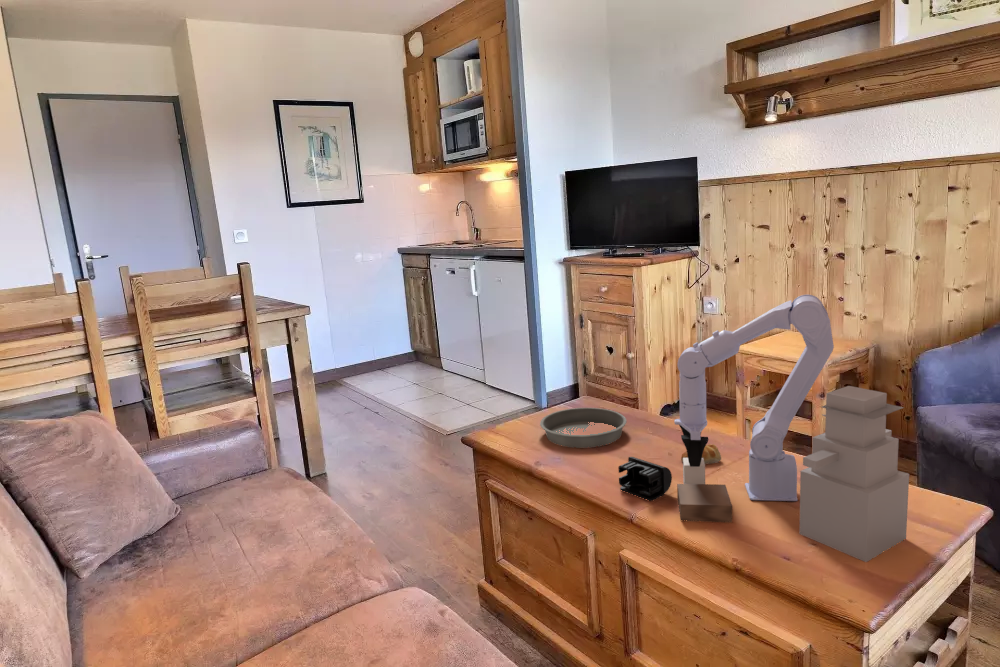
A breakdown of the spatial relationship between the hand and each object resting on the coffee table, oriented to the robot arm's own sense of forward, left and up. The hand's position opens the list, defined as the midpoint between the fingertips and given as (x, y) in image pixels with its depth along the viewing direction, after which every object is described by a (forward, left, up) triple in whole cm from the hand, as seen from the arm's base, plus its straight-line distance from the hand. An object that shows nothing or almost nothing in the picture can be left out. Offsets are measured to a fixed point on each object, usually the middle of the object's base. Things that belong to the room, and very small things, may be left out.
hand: (693, 459), depth 147 cm
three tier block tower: (-27, +21, -7) cm, 35 cm away
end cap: (+11, +3, -7) cm, 13 cm away
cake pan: (+28, -34, -7) cm, 45 cm away
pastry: (-3, -16, -7) cm, 17 cm away
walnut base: (-1, +12, -7) cm, 14 cm away
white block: (0, 0, -7) cm, 7 cm away
